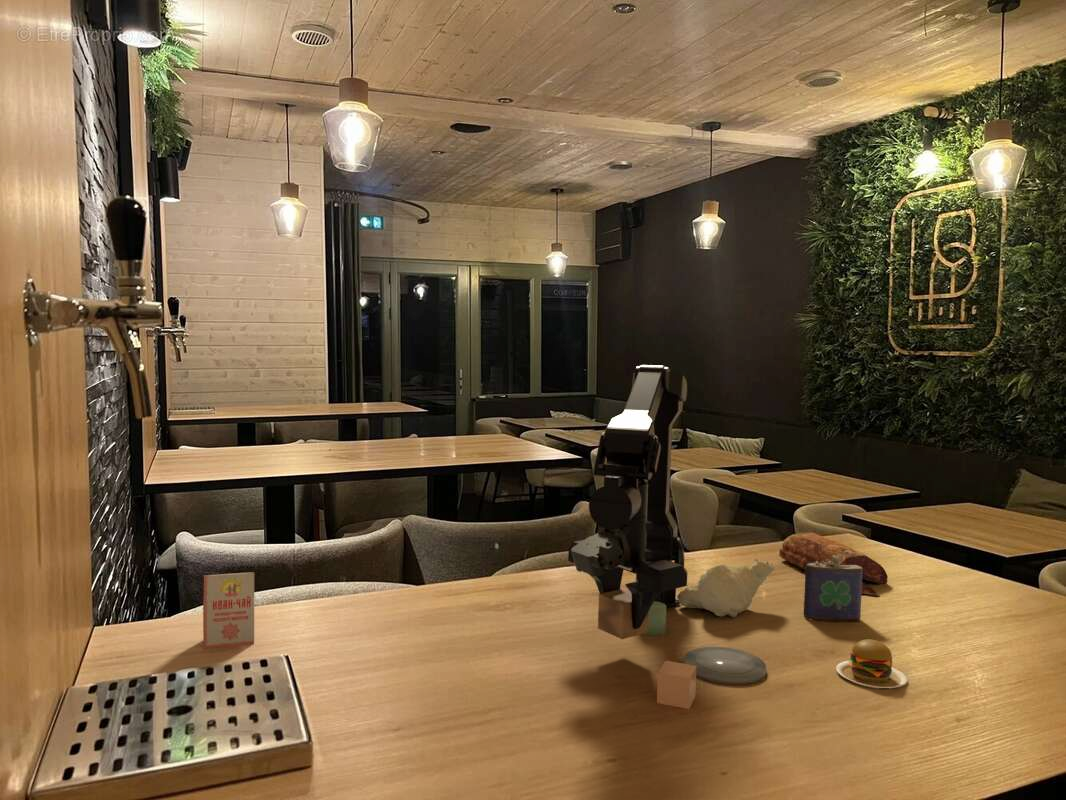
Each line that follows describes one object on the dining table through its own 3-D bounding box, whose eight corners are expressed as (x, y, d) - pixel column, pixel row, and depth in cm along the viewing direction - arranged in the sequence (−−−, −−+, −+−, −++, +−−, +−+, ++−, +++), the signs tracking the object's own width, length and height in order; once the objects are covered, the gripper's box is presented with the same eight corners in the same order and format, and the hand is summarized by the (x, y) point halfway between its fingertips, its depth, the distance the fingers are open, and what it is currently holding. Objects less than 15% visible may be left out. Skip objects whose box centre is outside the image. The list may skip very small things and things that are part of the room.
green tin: (631, 629, 124) (632, 604, 124) (651, 623, 127) (651, 599, 126) (651, 637, 120) (652, 611, 120) (671, 631, 123) (672, 606, 123)
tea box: (205, 639, 116) (204, 572, 115) (254, 635, 118) (254, 569, 117) (203, 648, 112) (203, 579, 111) (254, 644, 114) (253, 576, 114)
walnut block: (597, 628, 113) (598, 594, 113) (623, 621, 116) (624, 588, 116) (622, 639, 109) (623, 603, 109) (647, 632, 112) (649, 597, 112)
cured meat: (827, 600, 141) (829, 562, 141) (759, 562, 165) (761, 530, 165) (915, 598, 145) (918, 561, 144) (836, 561, 169) (838, 530, 169)
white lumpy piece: (681, 634, 128) (758, 588, 122) (662, 593, 132) (735, 546, 126) (723, 638, 139) (795, 596, 133) (704, 600, 143) (773, 558, 138)
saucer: (667, 663, 111) (667, 656, 111) (719, 646, 117) (719, 640, 117) (730, 691, 102) (731, 684, 102) (782, 671, 109) (782, 665, 109)
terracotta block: (656, 703, 98) (657, 672, 98) (664, 690, 102) (665, 660, 102) (689, 709, 97) (690, 677, 97) (695, 696, 101) (696, 665, 100)
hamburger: (866, 705, 100) (868, 663, 100) (805, 668, 112) (807, 630, 111) (940, 694, 104) (943, 653, 104) (874, 659, 115) (876, 623, 115)
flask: (857, 617, 132) (860, 553, 131) (863, 623, 129) (867, 558, 128) (801, 615, 132) (804, 552, 132) (806, 621, 129) (809, 556, 129)
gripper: (540, 508, 114) (538, 614, 115) (632, 535, 99) (628, 656, 100) (598, 500, 121) (595, 601, 122) (691, 524, 106) (687, 638, 107)
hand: (623, 622), depth 112 cm, fingers closed on walnut block, 5 cm apart
